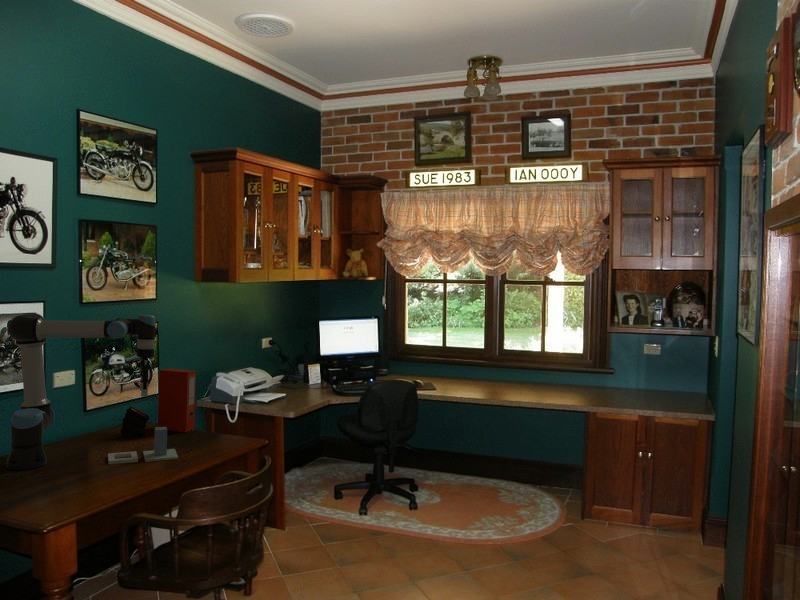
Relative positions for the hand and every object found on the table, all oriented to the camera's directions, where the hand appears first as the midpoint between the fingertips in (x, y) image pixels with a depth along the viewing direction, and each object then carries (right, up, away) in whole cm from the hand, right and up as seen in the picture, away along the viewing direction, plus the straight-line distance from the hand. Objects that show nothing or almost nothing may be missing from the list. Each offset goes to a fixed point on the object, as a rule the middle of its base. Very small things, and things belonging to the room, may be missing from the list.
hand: (143, 393), depth 299 cm
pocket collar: (-6, -28, -9) cm, 30 cm away
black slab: (-16, -27, +29) cm, 42 cm away
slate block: (+9, -28, -2) cm, 29 cm away
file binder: (-1, -26, +46) cm, 53 cm away
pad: (+9, -29, -2) cm, 30 cm away
